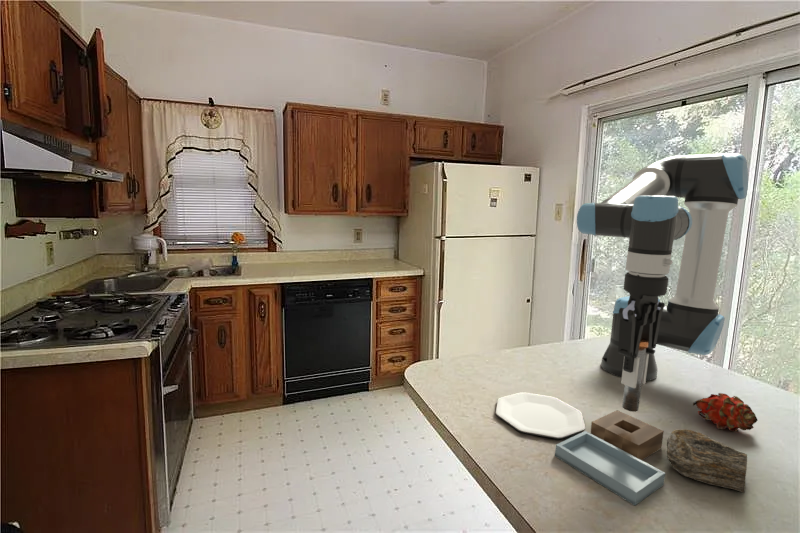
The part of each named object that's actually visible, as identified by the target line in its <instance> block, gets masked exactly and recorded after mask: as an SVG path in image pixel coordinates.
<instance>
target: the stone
mask: <svg viewBox="0 0 800 533" xmlns="http://www.w3.org/2000/svg"><path fill="white" fill-rule="evenodd" d="M666 448H667V450H666V455H667V456H666V457H667V460H668V462H669V463H670V465H671V467H672V468H673V470H676V471H677V472H678V474H680V475H682V476H685V477H687V478H690V479H691V480H695V481H698V482H701V483H705V484H707V485H711V486H715V487H716V486H717V487H721V488H726V489H732V490H734V491H737V492H741V493H745V489H746V478H747V464H748V463H747V462H748V454H747V453H744V452H741V451H739V450H736V449H735V448H733V447H731V446H729V445H727V444H726V443H723V442H720V441H717V440H716V439H713V438H711V437H710V436H708V435H706V434H704V433H702V432H699V431H695V430H692V429H687V428H684V429H675V430H672V431H671V434H670V435H669V436H668V439H667V440H666Z"/></svg>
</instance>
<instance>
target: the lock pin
mask: <svg viewBox="0 0 800 533" xmlns="http://www.w3.org/2000/svg"><path fill="white" fill-rule="evenodd" d="M648 343H649V342H648V341H646V340H644V339H641V340H640V345H639V350H638V355H637V357H639V358H640V360H639V368H638V376H637V384H636V388H632V387H629V386H627V385H624V389H623V397H622V406H621V407H622V409H624V410H626V411H628V412H633V413H634V412H639V407H640V399H641V391H642V390H641V389H642V385H643V384H642V377H643V369H644V361H645V353H646V348H648Z"/></svg>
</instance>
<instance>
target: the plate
mask: <svg viewBox="0 0 800 533" xmlns="http://www.w3.org/2000/svg"><path fill="white" fill-rule="evenodd" d="M495 415H496V416H497V417H498V418H500V419H501V420H502V421H504V422H505V423H507V424H508V425H509V426H511V427H512V428H514V429H515V430H517V431H518V432H520V433H523V434H528V435H535V436H539V437H545V438H551V439H556V440H561V439H565V438H567V437H570V436H571V437H572V436H574V435H577V434H580V433H582V432H584V431H586V425H585V421H584V417H583V413H582V411H581V410H580V409H577V408H576V407H574V406H572V405H570V404H568V403H567V402H566V401H563V400H561V399H560V398H557V397H556V396H550V395H544V394H537V393H534V392H533V393H532V392H525V391H521V392H517V393H512V394H508V395H505V396H501V397H499V398H498V399H497V401H496V409H495Z"/></svg>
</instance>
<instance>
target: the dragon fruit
mask: <svg viewBox="0 0 800 533" xmlns="http://www.w3.org/2000/svg"><path fill="white" fill-rule="evenodd" d="M692 406H693V407H694V406H696V408H697V409H699V410H698V411H697V414H698V415H699V416H700V417H701V418H702V419H704V420H706V421H710V422H711V423H712V424H715V425H716V428H717V429H718V430H725V429H729V431H730V432H738V431H739V429H740V430H741V431H750V430H752V429H754V426H753V425H754V424H756V423H757V421H758V418H757V416H756V413H755V412H754V411H753V409H752V408H751V406H749V404H746V403H745V402H744V401H743V400H742V399H741V398H740V397H738V396H736V395H733V396H732V397H731V396H730V395H728V394H726V393H722V392H718V394H714V393H712V394H710V395H709V396H708V397H703V398H700V399H698V400H696V401H694V402H693V403H692Z"/></svg>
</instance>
